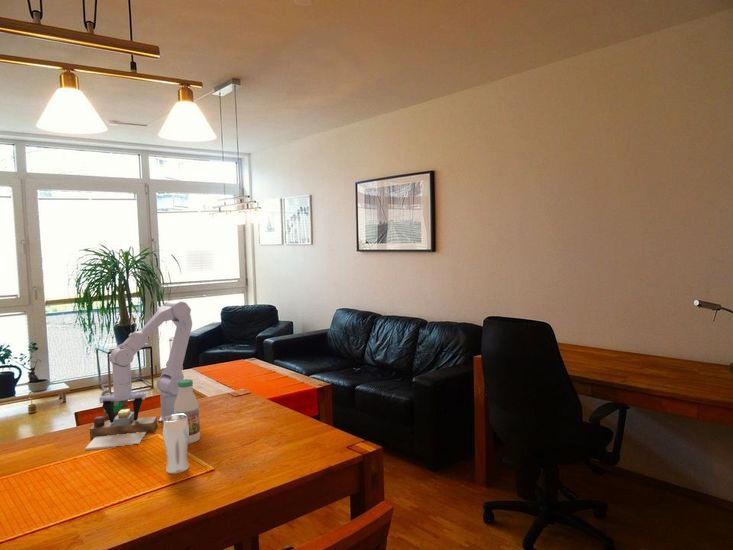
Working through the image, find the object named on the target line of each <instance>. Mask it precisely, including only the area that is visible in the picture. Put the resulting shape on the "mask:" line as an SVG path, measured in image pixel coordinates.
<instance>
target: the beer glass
mask: <svg viewBox="0 0 733 550" xmlns="http://www.w3.org/2000/svg"><path fill="white" fill-rule="evenodd" d="M162 439H163V445H164V449H165V453H166V469H165V472H166V473H167V474H170V475H171V474H172V475H174V474H175V475H176V474H181V473H184V472H186V471H187V470H188V469H189V467H190V464H189V462H188V445H189V444H188V440H189V425H188V417H187V415H186V414H173V415H169V416H166V417H164V418H163V421H162Z"/></svg>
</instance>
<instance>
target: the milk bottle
mask: <svg viewBox="0 0 733 550" xmlns="http://www.w3.org/2000/svg"><path fill="white" fill-rule="evenodd" d="M193 385H194V382H193V379H185V378H184V379H183V380H180V381H178V389H179V392H178V396H177V399H176V401H175V405H174V414H186V415H187V417H188V425H189V440H188V445H190V444H194V443H196V442H198V441H200V438H201V431H200V429H201V426H200V408H199V402H198V401H199V400H198V399H197V397H196V395H195V393H194V390H193V387H194V386H193Z"/></svg>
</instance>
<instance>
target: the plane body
mask: <svg viewBox="0 0 733 550" xmlns="http://www.w3.org/2000/svg"><path fill="white" fill-rule="evenodd" d="M156 425H157V426H158V416H156V415H155V416H148V417H138V419H137V420H136V421H134V420H133V421H132V423H131V424H130V425H126V426H116V427H114V422H113V423H110V421H106V420H105V415H102V416H101V415H100V416H95V417H94V418H93V425H92V426H91V427H90V428H89V438H90V437H92V438H95V437H99V436H107V435H117V434H127V433H136V432H146V433H147V432H148V431H152V432H154V431H155V429H156V428H157V426H156ZM153 430H154V431H153ZM148 433H149V432H148Z"/></svg>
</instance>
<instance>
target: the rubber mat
mask: <svg viewBox="0 0 733 550" xmlns="http://www.w3.org/2000/svg"><path fill="white" fill-rule="evenodd" d="M145 434H146V435H147V432H139V433H129V434H119V435H109V436H99V437H93V439H92V440H91V441H90V442H89V443H88V445H87V446H86V447H85V448H84V451H89V450H100V449H110V447H111V448H117V447H116V446H121V447H126V446H125V445H130V446H134V445H133V444H141V443H142V441H143V440H142V439H144V438H145V436H146V435H145ZM143 437H144V438H143ZM141 440H142V441H141ZM140 442H141V443H140Z"/></svg>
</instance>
